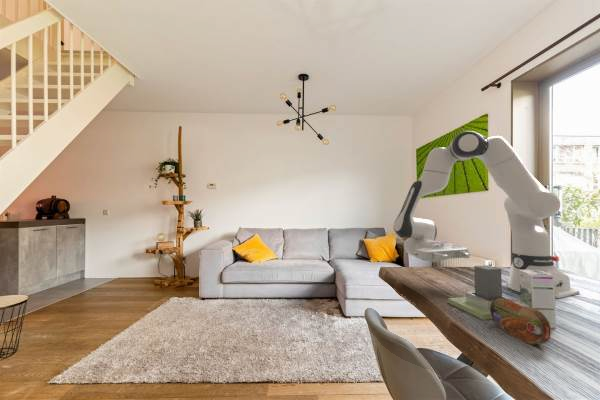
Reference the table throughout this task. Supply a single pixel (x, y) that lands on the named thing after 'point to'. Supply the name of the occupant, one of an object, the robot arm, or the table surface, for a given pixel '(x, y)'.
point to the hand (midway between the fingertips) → (456, 256)
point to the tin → (520, 321)
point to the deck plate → (474, 305)
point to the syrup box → (538, 293)
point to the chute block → (488, 282)
